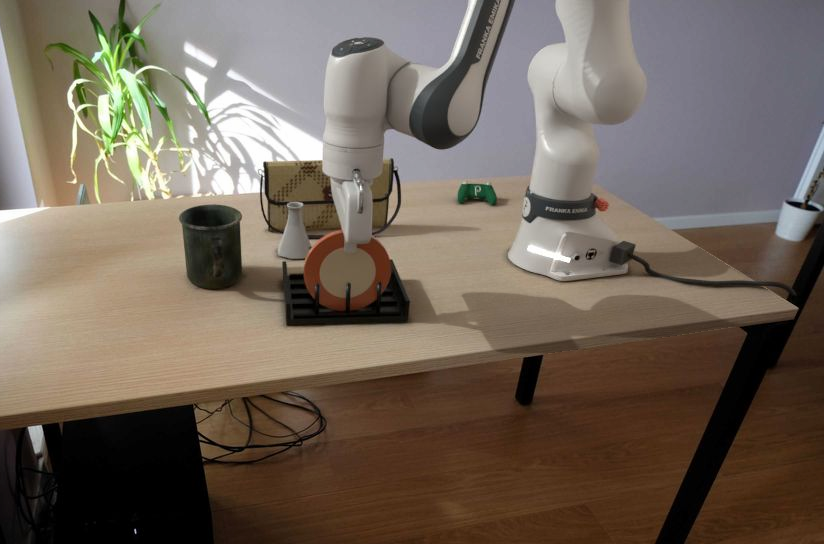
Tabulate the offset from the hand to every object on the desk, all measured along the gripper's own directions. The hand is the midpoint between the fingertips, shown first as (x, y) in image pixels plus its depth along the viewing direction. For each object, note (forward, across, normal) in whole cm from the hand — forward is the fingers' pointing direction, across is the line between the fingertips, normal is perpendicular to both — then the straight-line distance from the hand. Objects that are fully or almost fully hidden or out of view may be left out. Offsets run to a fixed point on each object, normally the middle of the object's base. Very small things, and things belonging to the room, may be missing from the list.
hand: (348, 247), depth 104 cm
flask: (+13, +26, +7) cm, 30 cm away
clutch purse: (+13, +36, -1) cm, 38 cm away
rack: (+12, +5, 0) cm, 14 cm away
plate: (+4, 0, 0) cm, 4 cm away
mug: (+13, +14, +22) cm, 29 cm away
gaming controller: (+12, +54, -38) cm, 67 cm away
